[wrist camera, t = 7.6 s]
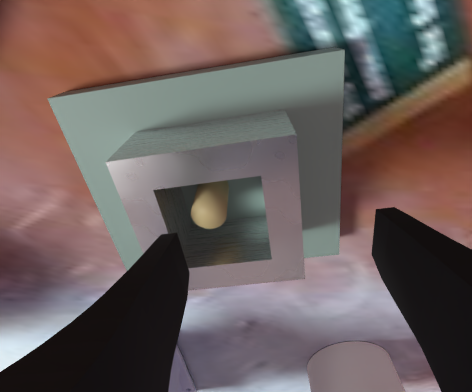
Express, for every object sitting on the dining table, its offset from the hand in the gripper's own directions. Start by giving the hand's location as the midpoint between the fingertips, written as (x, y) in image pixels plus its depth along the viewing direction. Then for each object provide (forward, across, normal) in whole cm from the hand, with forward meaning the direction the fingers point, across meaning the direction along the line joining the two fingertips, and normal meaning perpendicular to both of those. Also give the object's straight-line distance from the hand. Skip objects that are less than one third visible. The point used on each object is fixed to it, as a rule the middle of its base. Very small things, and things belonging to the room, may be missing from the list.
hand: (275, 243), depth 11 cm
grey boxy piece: (+5, +2, 0) cm, 5 cm away
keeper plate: (+6, +3, 0) cm, 7 cm away
